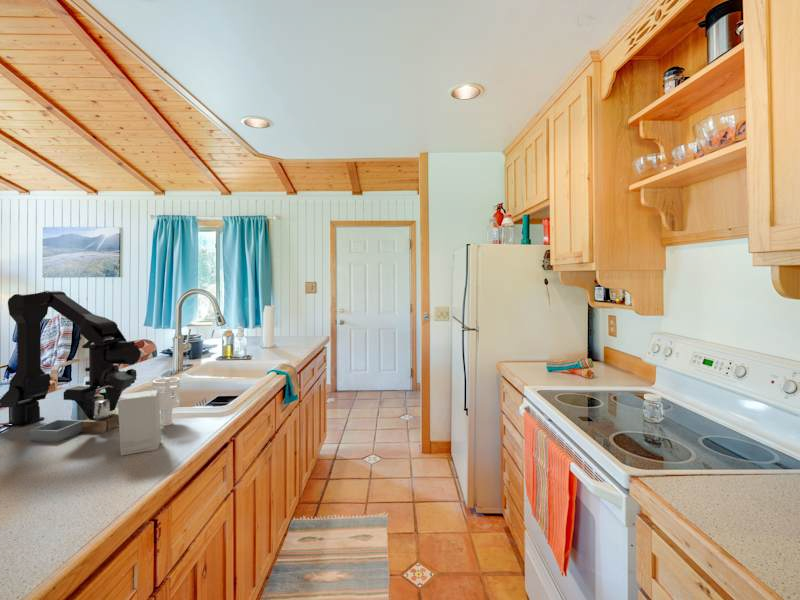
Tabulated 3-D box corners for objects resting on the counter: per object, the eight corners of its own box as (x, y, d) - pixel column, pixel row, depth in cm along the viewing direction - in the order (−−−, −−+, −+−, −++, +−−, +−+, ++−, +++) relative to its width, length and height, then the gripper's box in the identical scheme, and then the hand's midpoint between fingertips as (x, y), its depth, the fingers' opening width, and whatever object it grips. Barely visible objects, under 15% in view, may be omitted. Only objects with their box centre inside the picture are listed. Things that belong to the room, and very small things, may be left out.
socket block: (81, 431, 105) (81, 421, 105) (101, 422, 112) (101, 413, 112) (103, 432, 105) (103, 422, 105) (121, 423, 111) (121, 414, 111)
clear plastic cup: (153, 430, 107) (153, 380, 107) (151, 422, 113) (151, 375, 112) (181, 424, 112) (181, 377, 111) (178, 418, 117) (177, 372, 117)
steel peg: (91, 429, 107) (91, 403, 106) (101, 425, 110) (101, 399, 110) (103, 430, 106) (102, 403, 106) (112, 425, 110) (112, 399, 110)
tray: (29, 440, 98) (29, 430, 98) (58, 429, 106) (58, 419, 106) (57, 441, 98) (57, 431, 98) (83, 430, 106) (83, 420, 106)
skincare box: (161, 441, 99) (161, 388, 99) (157, 451, 94) (157, 394, 94) (123, 447, 96) (123, 392, 95) (117, 457, 90) (117, 398, 90)
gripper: (100, 371, 98) (101, 427, 98) (150, 357, 117) (150, 405, 117) (61, 369, 98) (62, 426, 99) (117, 356, 117) (117, 403, 118)
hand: (102, 414), depth 108 cm, fingers open, 7 cm apart
